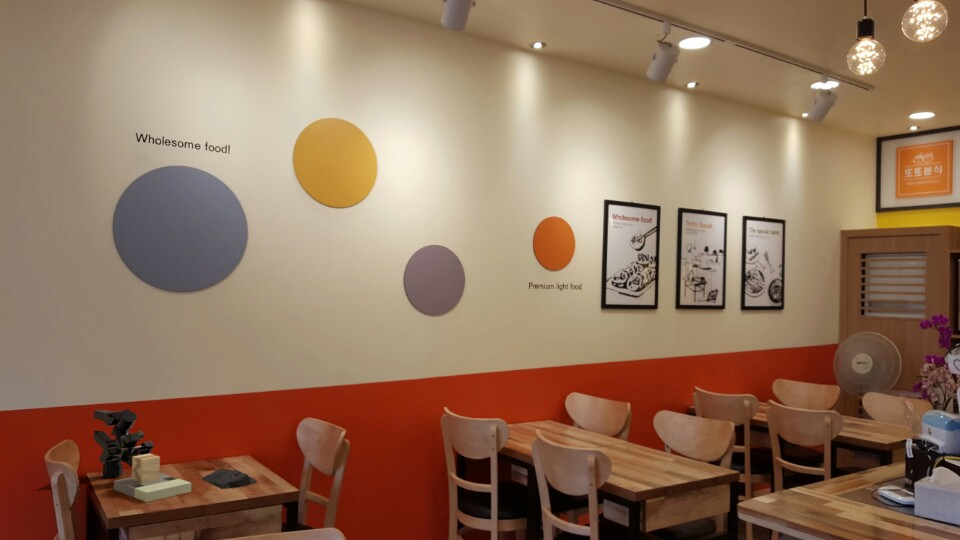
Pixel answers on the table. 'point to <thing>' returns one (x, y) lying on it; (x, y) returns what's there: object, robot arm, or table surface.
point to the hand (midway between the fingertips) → (135, 468)
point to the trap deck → (153, 487)
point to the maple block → (145, 468)
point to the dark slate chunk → (228, 478)
